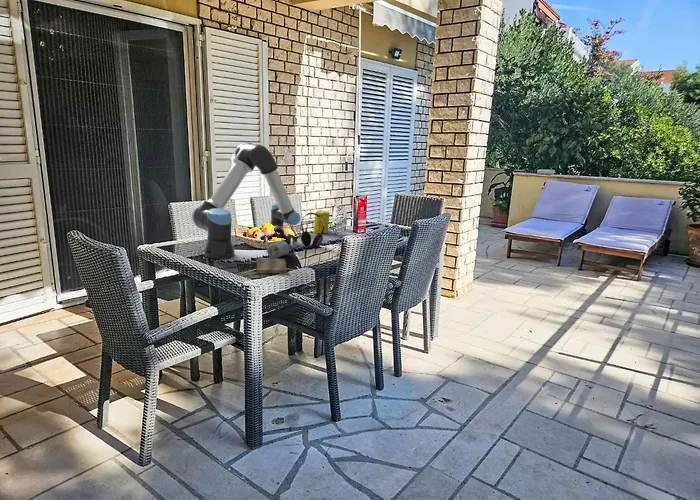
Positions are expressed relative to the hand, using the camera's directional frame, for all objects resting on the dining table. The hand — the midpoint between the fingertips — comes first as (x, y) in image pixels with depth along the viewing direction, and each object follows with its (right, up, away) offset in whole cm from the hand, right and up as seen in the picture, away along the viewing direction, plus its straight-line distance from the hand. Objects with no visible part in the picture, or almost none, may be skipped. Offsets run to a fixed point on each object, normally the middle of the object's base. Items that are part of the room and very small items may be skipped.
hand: (279, 243), depth 249 cm
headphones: (+15, -2, +20) cm, 25 cm away
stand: (-1, -12, -22) cm, 26 cm away
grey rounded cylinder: (0, -7, -4) cm, 8 cm away
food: (+19, +8, +55) cm, 58 cm away
